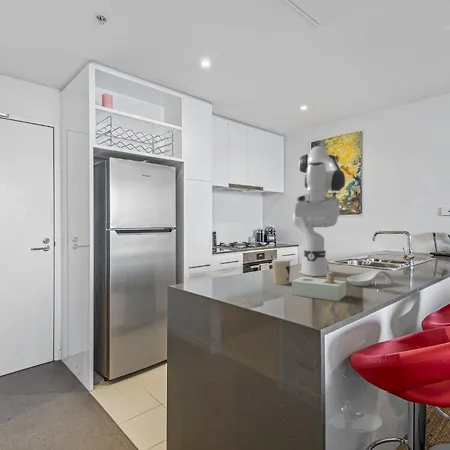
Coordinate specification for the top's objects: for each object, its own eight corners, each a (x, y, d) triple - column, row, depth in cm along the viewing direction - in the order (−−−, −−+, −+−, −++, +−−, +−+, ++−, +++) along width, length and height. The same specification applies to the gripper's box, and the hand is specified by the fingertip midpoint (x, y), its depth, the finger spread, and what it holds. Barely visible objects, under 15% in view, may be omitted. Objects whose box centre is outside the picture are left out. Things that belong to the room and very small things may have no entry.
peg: (327, 295, 136) (327, 272, 136) (334, 296, 135) (334, 273, 134) (325, 296, 134) (325, 273, 134) (332, 297, 132) (332, 274, 132)
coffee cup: (290, 285, 157) (290, 261, 156) (271, 284, 159) (271, 261, 158) (290, 281, 166) (290, 259, 166) (272, 281, 168) (272, 258, 167)
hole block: (301, 289, 148) (301, 276, 148) (345, 295, 136) (345, 281, 136) (291, 294, 138) (291, 281, 138) (338, 301, 126) (338, 286, 126)
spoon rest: (358, 289, 149) (358, 274, 149) (342, 284, 160) (342, 270, 160) (398, 285, 155) (398, 271, 155) (381, 281, 167) (381, 267, 166)
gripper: (341, 196, 142) (341, 227, 143) (298, 198, 154) (298, 226, 155) (337, 196, 137) (337, 228, 138) (293, 197, 149) (293, 227, 149)
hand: (316, 227), depth 146 cm, fingers open, 8 cm apart
